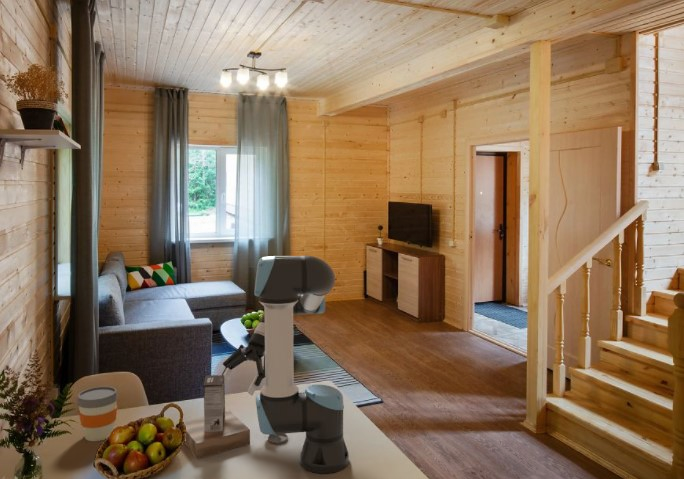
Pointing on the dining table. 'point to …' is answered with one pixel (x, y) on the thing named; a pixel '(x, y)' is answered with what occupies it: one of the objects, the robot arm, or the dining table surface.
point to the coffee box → (214, 403)
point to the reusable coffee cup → (97, 412)
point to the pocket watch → (277, 438)
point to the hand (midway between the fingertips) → (235, 389)
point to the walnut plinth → (216, 436)
